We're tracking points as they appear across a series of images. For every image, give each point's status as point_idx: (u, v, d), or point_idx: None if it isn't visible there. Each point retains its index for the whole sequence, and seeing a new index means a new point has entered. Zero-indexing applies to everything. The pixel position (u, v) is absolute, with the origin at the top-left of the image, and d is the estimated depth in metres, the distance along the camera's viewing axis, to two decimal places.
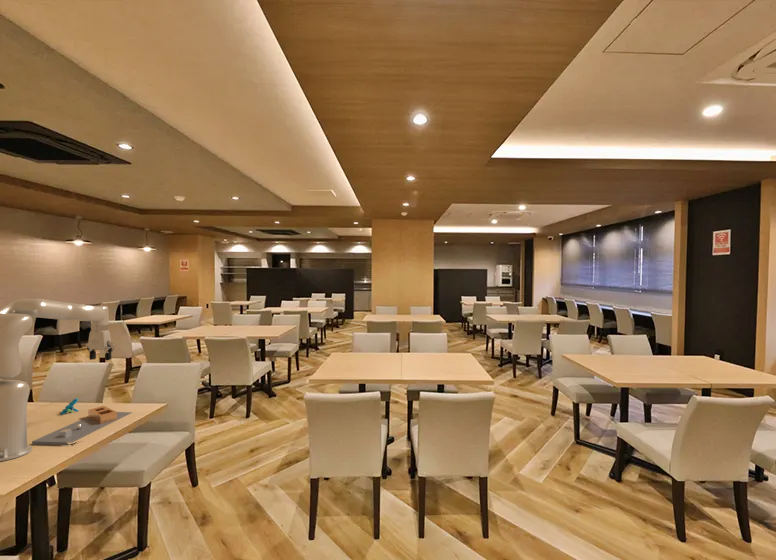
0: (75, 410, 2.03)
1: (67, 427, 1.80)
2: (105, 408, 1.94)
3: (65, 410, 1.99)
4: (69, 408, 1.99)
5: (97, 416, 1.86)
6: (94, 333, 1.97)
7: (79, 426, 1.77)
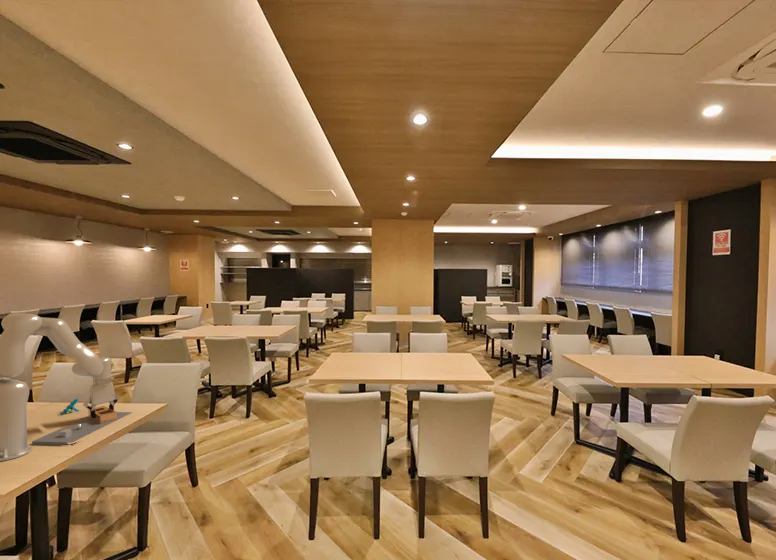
0: (76, 410, 2.03)
1: (67, 427, 1.80)
2: (105, 408, 1.94)
3: (66, 410, 2.00)
4: (69, 408, 1.99)
5: (97, 416, 1.86)
6: None
7: (79, 426, 1.77)
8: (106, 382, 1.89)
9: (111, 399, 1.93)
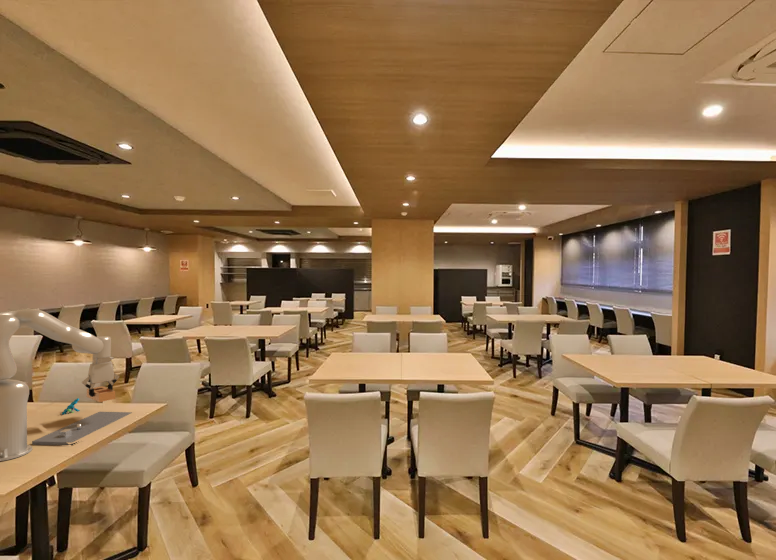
0: (76, 410, 2.03)
1: (67, 427, 1.80)
2: (104, 388, 1.94)
3: (66, 410, 2.00)
4: (70, 408, 1.99)
5: (96, 394, 1.85)
6: None
7: (79, 426, 1.77)
8: (106, 361, 1.89)
9: (110, 378, 1.92)
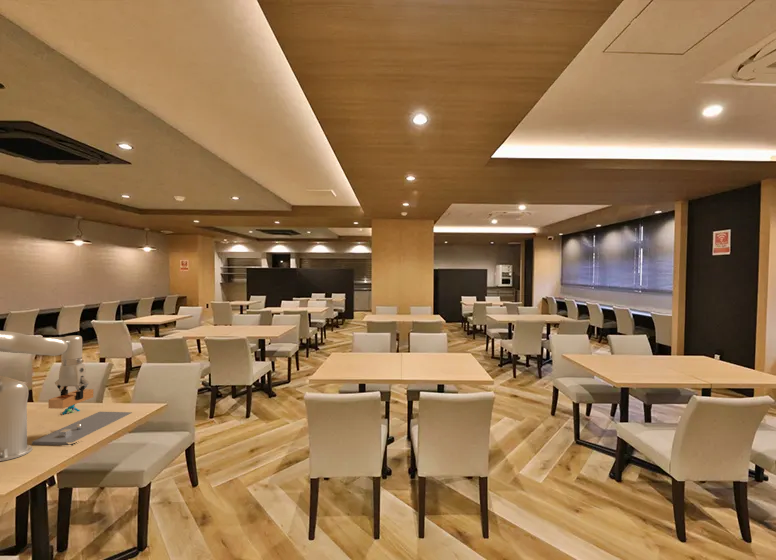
0: (76, 410, 2.03)
1: (67, 427, 1.80)
2: None
3: (66, 410, 2.00)
4: (70, 408, 1.99)
5: None
6: None
7: (79, 426, 1.77)
8: (66, 363, 1.70)
9: (74, 384, 1.72)
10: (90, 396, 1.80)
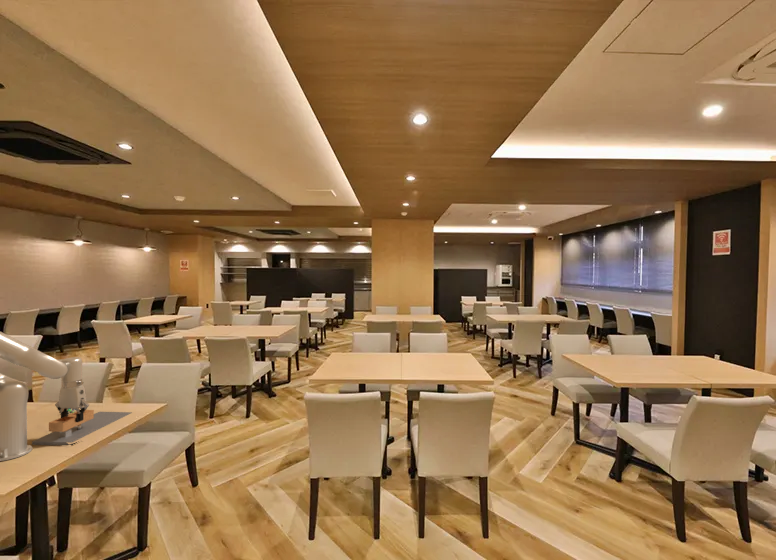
0: None
1: None
2: None
3: (67, 410, 2.00)
4: None
5: None
6: None
7: (79, 426, 1.77)
8: (66, 386, 1.70)
9: (74, 406, 1.72)
10: (90, 417, 1.80)
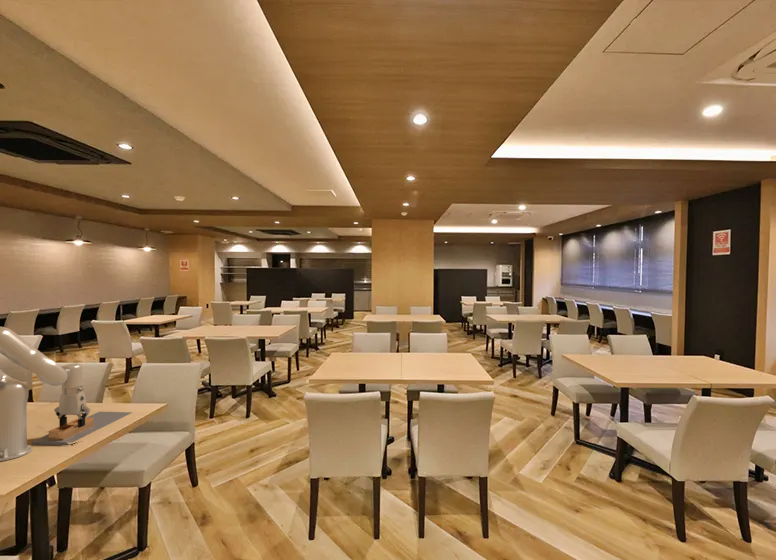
0: None
1: None
2: None
3: None
4: None
5: None
6: None
7: None
8: (66, 392, 1.70)
9: (75, 413, 1.72)
10: (90, 425, 1.80)
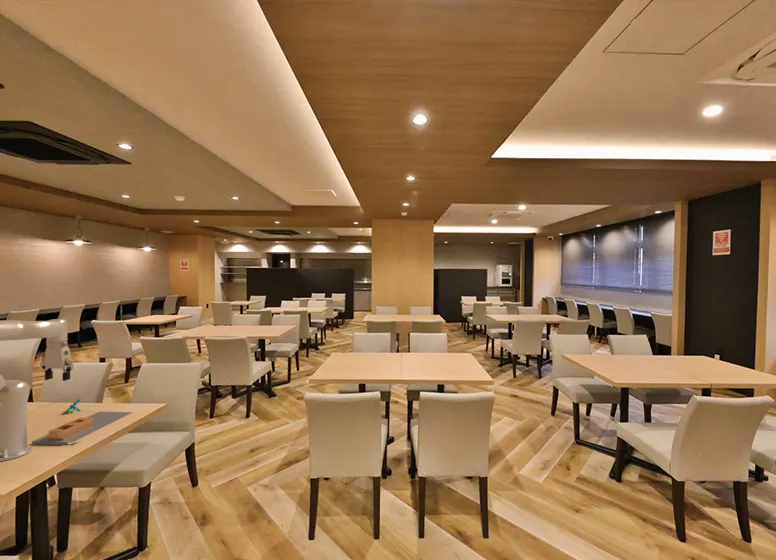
0: (78, 410, 2.03)
1: None
2: (81, 422, 1.76)
3: (67, 410, 2.00)
4: (71, 408, 1.99)
5: None
6: None
7: None
8: (50, 346, 1.74)
9: (59, 366, 1.75)
10: (90, 425, 1.80)
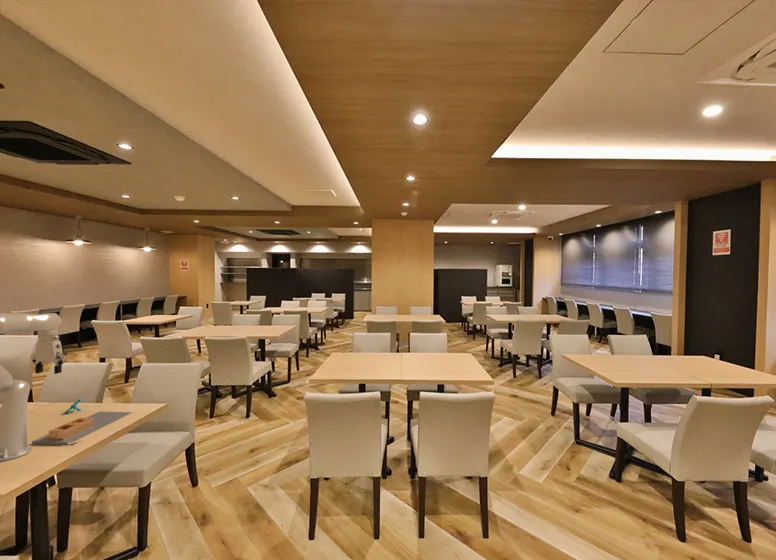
0: (78, 410, 2.03)
1: None
2: (81, 422, 1.76)
3: (68, 410, 2.00)
4: (71, 408, 1.99)
5: None
6: None
7: None
8: (42, 340, 1.76)
9: (50, 359, 1.77)
10: (90, 425, 1.80)
